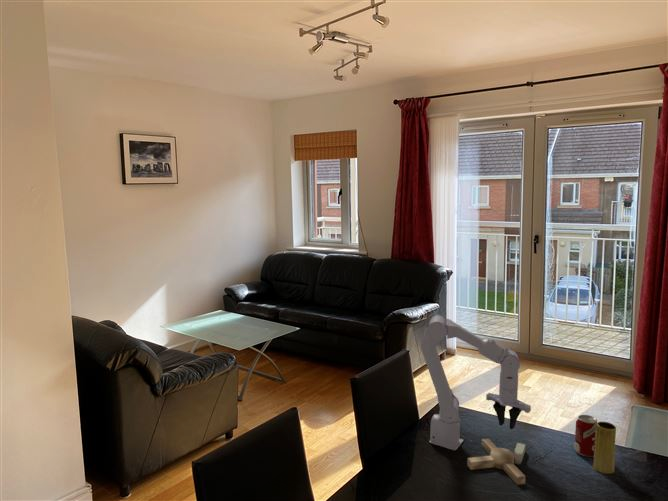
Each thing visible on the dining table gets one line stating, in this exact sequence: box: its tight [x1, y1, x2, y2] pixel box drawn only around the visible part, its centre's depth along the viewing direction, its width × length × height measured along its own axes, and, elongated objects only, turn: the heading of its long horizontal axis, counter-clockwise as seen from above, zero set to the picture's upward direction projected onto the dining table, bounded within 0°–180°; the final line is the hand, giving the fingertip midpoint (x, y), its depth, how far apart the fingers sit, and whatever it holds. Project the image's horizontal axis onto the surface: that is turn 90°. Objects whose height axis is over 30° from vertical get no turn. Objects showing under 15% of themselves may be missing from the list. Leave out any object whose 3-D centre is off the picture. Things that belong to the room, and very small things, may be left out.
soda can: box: [573, 414, 598, 458], centre depth 163 cm, size 7×7×12 cm
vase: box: [592, 421, 617, 475], centre depth 154 cm, size 6×6×14 cm
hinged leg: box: [512, 442, 526, 465], centre depth 161 cm, size 9×2×3 cm, turn 150°
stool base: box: [466, 438, 526, 486], centre depth 157 cm, size 15×22×4 cm, turn 10°
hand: (506, 426), depth 165 cm, fingers open, 3 cm apart
